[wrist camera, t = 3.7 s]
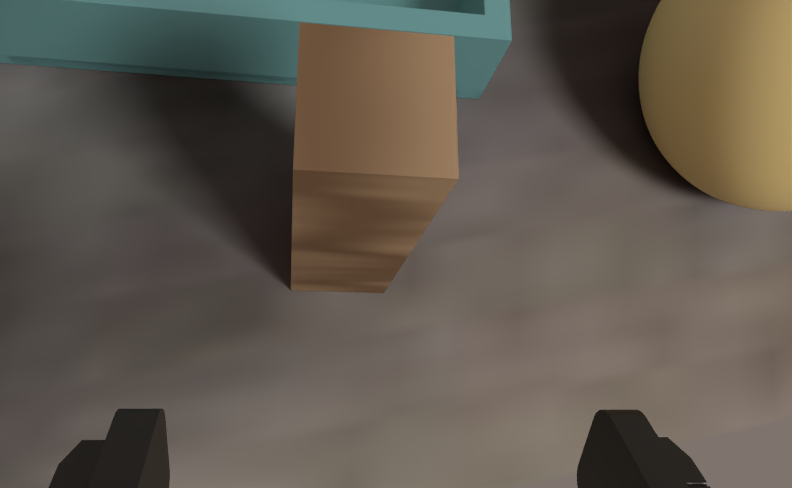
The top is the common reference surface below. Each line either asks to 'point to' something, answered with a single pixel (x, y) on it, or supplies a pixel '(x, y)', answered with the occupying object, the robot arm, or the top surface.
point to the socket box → (237, 34)
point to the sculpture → (723, 96)
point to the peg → (368, 152)
